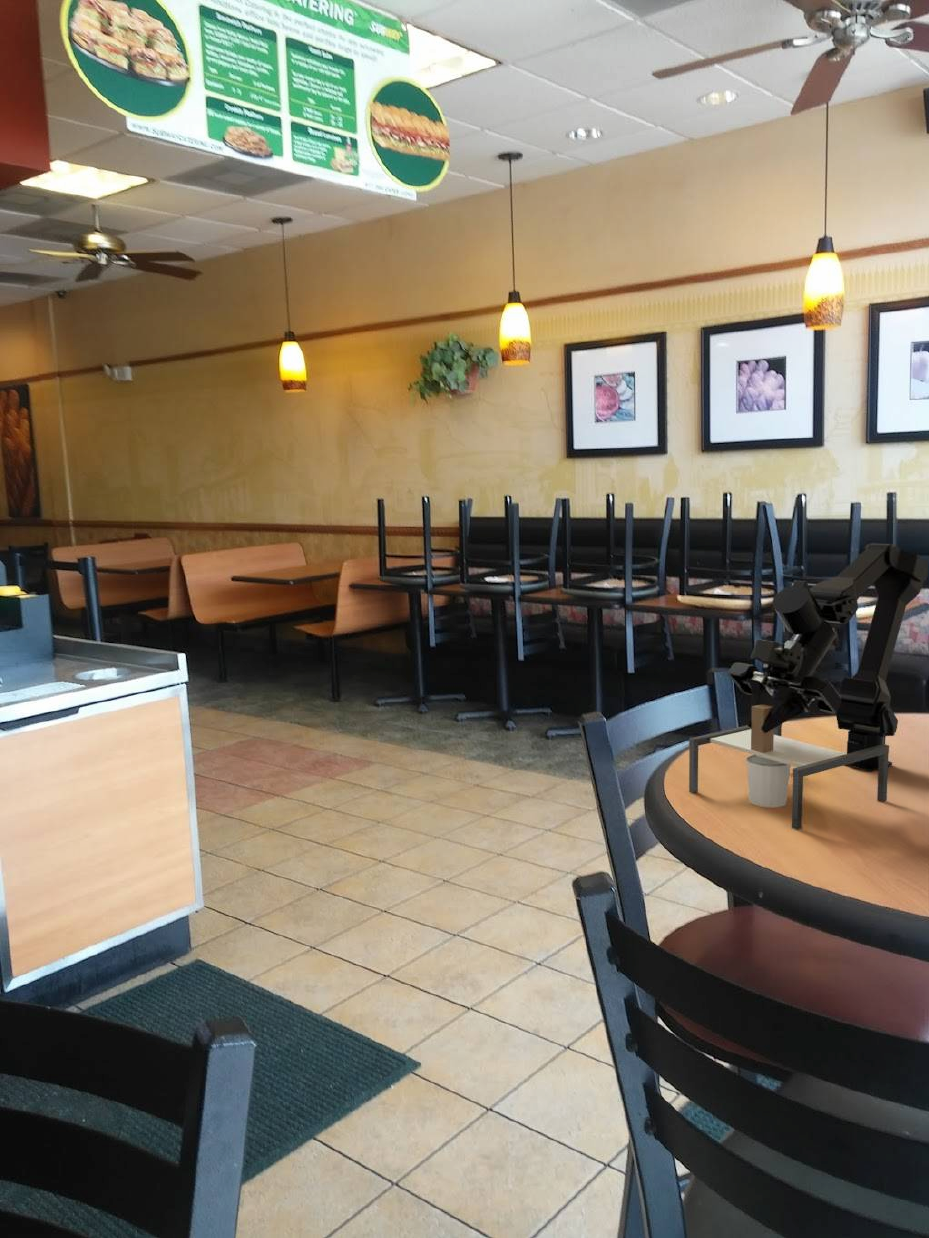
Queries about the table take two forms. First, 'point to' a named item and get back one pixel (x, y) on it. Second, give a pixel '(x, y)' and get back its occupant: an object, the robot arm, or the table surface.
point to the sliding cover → (773, 743)
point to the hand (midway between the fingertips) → (756, 729)
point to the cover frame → (799, 768)
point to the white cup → (767, 781)
